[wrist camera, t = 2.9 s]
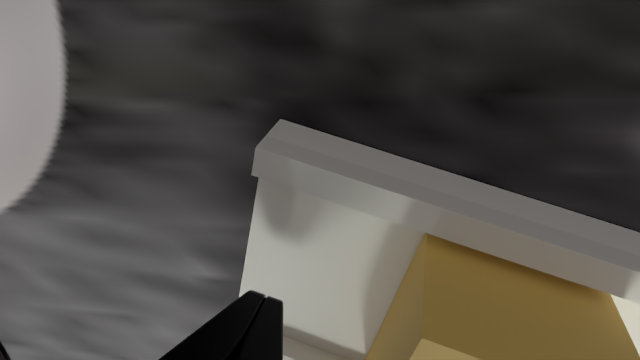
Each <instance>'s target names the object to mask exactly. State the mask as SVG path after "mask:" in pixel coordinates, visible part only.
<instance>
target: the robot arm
mask: <svg viewBox="0 0 640 360" xmlns="http://www.w3.org/2000/svg"><path fill="white" fill-rule="evenodd" d="M159 360H283V301H282V300H279V299H276V298H274V297H271V296H267V297H266V296H265V295H264V294H262V293H259V292H257V291H254V290H249V291H247V292H246V293H244V294H243V295H242V296H241V297H239V298H238V299H237V300H235V301H234V302H233V303H231V304H230V305H229V306H228V307H226V308H225V309H224V310H222V311H221V312H220V313H218V314H217V315H216V316H215V317H213V318H212V319H211V320H209V321H208V322H207V323H205V324H204V325H203V326H201V327H200V328H199V329H198V330H196V331H195V332H194V333H192V334H191V335H190V336H188V337H187V338H186V339H185V340H183V341H182V342H181V343H179V344H178V345H177V346H175V347H174V348H173V349H172V350H170V351H169V352H168V353H166V354H165V355H164V356H162V357H161V358H160V359H159Z"/></svg>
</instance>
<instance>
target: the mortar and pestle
mask: <svg viewBox="0 0 640 360" xmlns="http://www.w3.org/2000/svg"><path fill="white" fill-rule="evenodd" d="M0 360H6V359H5V358H4V356H3V354H2V352H1V351H0Z"/></svg>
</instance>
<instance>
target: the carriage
mask: <svg viewBox="0 0 640 360" xmlns="http://www.w3.org/2000/svg"><path fill="white" fill-rule="evenodd" d="M365 360H640V356H639V354H638V352H637V350H636V347H635V345H634V343H633V341H632V339H631V337H630V335H629V333H628V331H627V328H626V326H625V324H624V322H623V320H622V318H621V316H620V314H619V312H618V309H617V307H616V305H615V303H614V301H613V299H612V297H611V295H610V294H608V293H605V292H602V291H599V290H596V289H593V288H590V287H587V286H584V285H581V284H578V283H575V282H572V281H569V280H566V279H563V278H560V277H557V276H554V275H551V274H548V273H545V272H542V271H539V270H536V269H533V268H530V267H527V266H524V265H521V264H518V263H515V262H512V261H509V260H506V259H503V258H500V257H497V256H494V255H491V254H488V253H485V252H482V251H479V250H475V249H472V248H469V247H466V246H463V245H460V244H457V243H454V242H451V241H448V240H445V239H442V238H439V237H436V236H433V235H430V234H427V233H425V234H424V236H423V238H422V240H421V242H420V244H419V246H418V249H417V251H416V253H415V255H414V257H413V259H412V261H411V263H410V266H409V268H408V270H407V272H406V274H405V276H404V278H403V280H402V282H401V285H400V287H399V289H398V291H397V293H396V295H395V297H394V299H393V302H392V304H391V306H390V308H389V310H388V312H387V314H386V316H385V318H384V321H383V323H382V325H381V327H380V329H379V331H378V333H377V335H376V338H375V340H374V342H373V344H372V346H371V348H370V350H369V352H368V354H367V357H366V359H365Z"/></svg>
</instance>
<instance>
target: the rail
mask: <svg viewBox="0 0 640 360" xmlns="http://www.w3.org/2000/svg"><path fill="white" fill-rule="evenodd" d="M251 175H253V176H256V177H259V179H258V185H257V191H256V197H255V203H254V209H253V215H252V221H251V227H250V233H249V239H248V245H247V251H246V257H245V263H244V269H243V275H242V281H241V287H240V293H239V297H241V296H242V295H243V294H244V293H246V292H247V291H249V290H254V291H257V292H259V293H262V294H264V295H265V296H266V297H267V296H271V297H274V298H276V299H279V300H282V301H283V360H365V359H366V357H367V354H368V352H369V350H370V348H371V346H372V344H373V342H374V340H375V338H376V335H377V333H378V331H379V329H380V327H381V325H382V323H383V321H384V318H385V316H386V314H387V312H388V310H389V308H390V306H391V304H392V302H393V299H394V297H395V295H396V293H397V291H398V289H399V287H400V285H401V282H402V280H403V278H404V276H405V274H406V272H407V270H408V268H409V266H410V263H411V261H412V259H413V257H414V255H415V253H416V251H417V249H418V246H419V244H420V242H421V240H422V238H423V236H424V234H425V233H427V234H430V235H433V236H436V237H439V238H442V239H445V240H448V241H451V242H454V243H457V244H460V245H463V246H466V247H469V248H472V249H475V250H479V251H482V252H485V253H488V254H491V255H494V256H497V257H500V258H503V259H506V260H509V261H512V262H515V263H518V264H521V265H524V266H527V267H530V268H533V269H536V270H539V271H542V272H545V273H548V274H551V275H554V276H557V277H560V278H563V279H566V280H569V281H572V282H575V283H578V284H581V285H584V286H587V287H590V288H593V289H596V290H599V291H602V292H605V293H608V294H610V295H611V297H612V299H613V301H614V303H615V305H616V307H617V309H618V312H619V314H620V316H621V318H622V320H623V322H624V324H625V326H626V328H627V331H628V333H629V335H630V337H631V339H632V341H633V343H634V345H635V347H636V350H637V352H638V354H639V356H640V233H639V232H636V231H633V230H630V229H627V228H624V227H621V226H617V225H614V224H611V223H608V222H605V221H602V220H598V219H595V218H592V217H589V216H586V215H583V214H579V213H576V212H573V211H570V210H567V209H564V208H561V207H557V206H554V205H551V204H548V203H545V202H542V201H538V200H535V199H532V198H529V197H526V196H523V195H520V194H516V193H513V192H510V191H507V190H504V189H501V188H497V187H494V186H491V185H488V184H485V183H482V182H478V181H475V180H472V179H469V178H466V177H463V176H460V175H456V174H453V173H450V172H447V171H444V170H441V169H437V168H434V167H431V166H428V165H425V164H422V163H419V162H415V161H412V160H409V159H406V158H403V157H400V156H396V155H393V154H390V153H387V152H384V151H381V150H377V149H374V148H371V147H368V146H365V145H362V144H359V143H355V142H352V141H349V140H346V139H343V138H340V137H336V136H333V135H330V134H327V133H324V132H321V131H317V130H314V129H311V128H308V127H305V126H302V125H299V124H295V123H292V122H289V121H286V120H283V119H280V120H279V121H278V122H277V123H276V124H275V126H274V127H273V128H272V129H271V130H270V131H269V132H268V134H267V135H266V136H265V137H264V138H263V139H262V140H261V142H260V143H259V144H258V145H257V146H256V148H255V154H254V161H253V167H252V174H251Z"/></svg>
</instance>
